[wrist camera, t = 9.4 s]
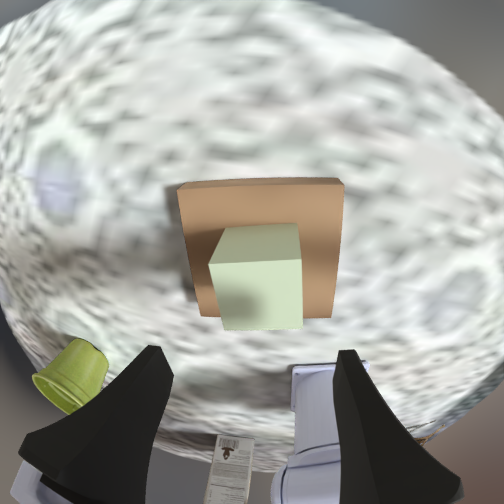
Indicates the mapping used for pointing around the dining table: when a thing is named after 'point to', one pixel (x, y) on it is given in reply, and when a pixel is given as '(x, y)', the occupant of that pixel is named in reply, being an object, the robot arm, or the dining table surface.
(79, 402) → the plant pot
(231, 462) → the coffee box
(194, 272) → the tan block
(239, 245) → the sage cube
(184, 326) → the dining table surface
